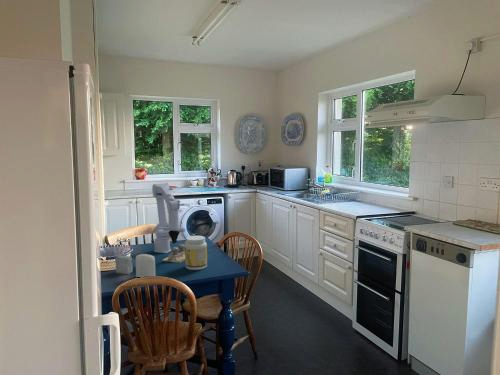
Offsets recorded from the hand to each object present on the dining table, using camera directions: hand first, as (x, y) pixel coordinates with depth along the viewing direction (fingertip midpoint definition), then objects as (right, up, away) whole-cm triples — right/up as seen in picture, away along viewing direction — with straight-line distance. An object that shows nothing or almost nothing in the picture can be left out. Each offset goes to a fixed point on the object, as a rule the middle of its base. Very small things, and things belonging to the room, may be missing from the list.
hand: (174, 243), depth 226 cm
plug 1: (0, -7, +1) cm, 7 cm away
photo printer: (-9, -14, -28) cm, 33 cm away
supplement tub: (+15, -12, -13) cm, 23 cm away
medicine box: (-23, -13, -20) cm, 34 cm away
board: (+3, -10, +8) cm, 12 cm away
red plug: (+6, -6, +14) cm, 16 cm away
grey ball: (+3, -6, +7) cm, 10 cm away
